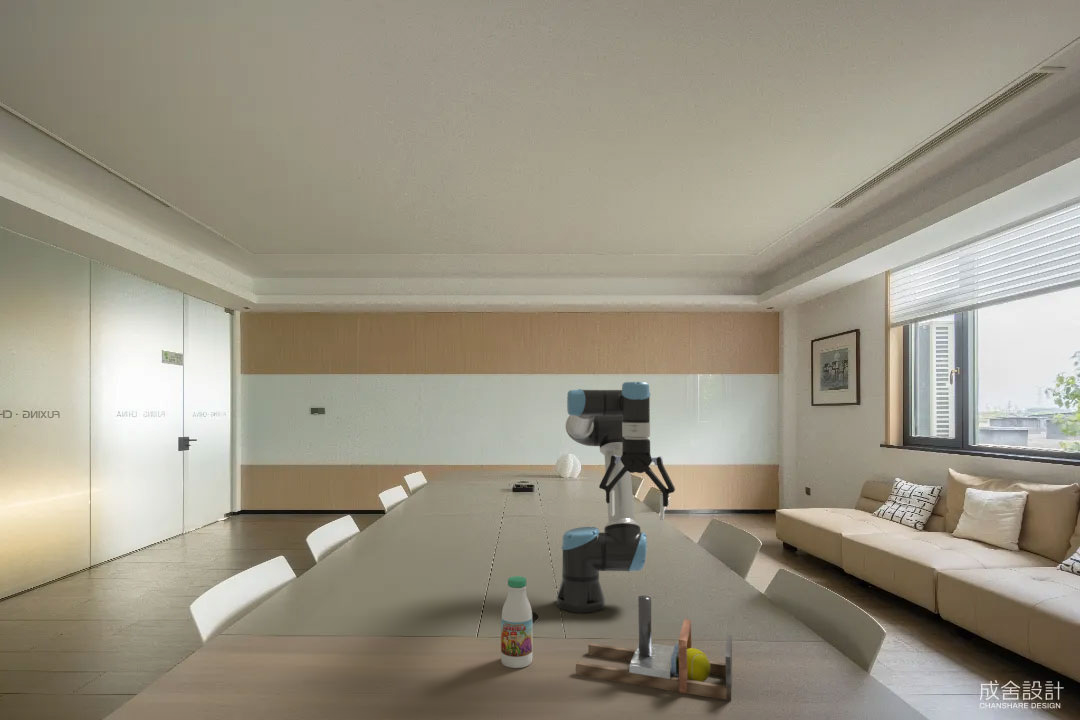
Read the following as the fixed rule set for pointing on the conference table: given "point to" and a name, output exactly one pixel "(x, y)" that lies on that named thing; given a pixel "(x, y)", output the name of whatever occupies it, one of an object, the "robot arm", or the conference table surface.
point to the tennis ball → (697, 665)
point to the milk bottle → (516, 626)
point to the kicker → (652, 648)
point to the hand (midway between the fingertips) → (636, 517)
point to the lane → (657, 682)
